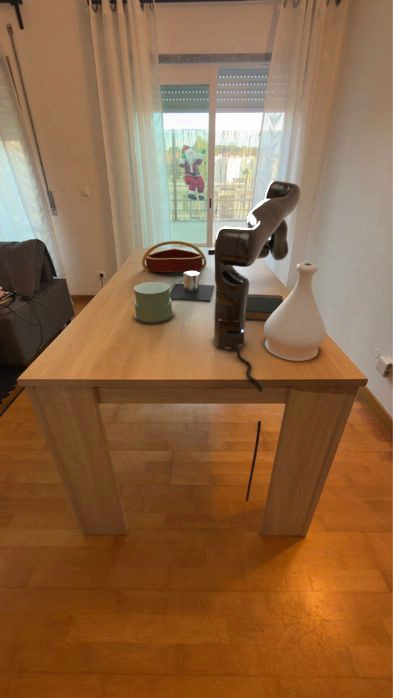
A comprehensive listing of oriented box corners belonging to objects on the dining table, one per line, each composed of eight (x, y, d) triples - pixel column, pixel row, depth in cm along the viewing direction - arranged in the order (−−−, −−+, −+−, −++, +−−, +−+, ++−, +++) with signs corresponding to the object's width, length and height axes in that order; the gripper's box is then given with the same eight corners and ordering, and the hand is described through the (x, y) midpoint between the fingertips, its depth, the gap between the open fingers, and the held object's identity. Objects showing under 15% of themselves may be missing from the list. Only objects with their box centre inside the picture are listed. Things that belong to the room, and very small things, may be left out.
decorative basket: (206, 266, 165) (206, 239, 159) (206, 274, 138) (206, 242, 132) (148, 267, 166) (146, 240, 159) (138, 275, 139) (134, 243, 133)
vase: (255, 333, 93) (265, 256, 80) (307, 331, 94) (325, 254, 81) (271, 364, 78) (286, 275, 65) (331, 361, 79) (359, 273, 66)
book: (215, 318, 103) (285, 322, 100) (215, 309, 101) (287, 313, 98) (218, 299, 117) (280, 303, 114) (218, 291, 115) (281, 294, 112)
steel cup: (192, 295, 120) (192, 276, 116) (180, 291, 123) (180, 273, 119) (202, 290, 124) (202, 272, 120) (190, 287, 128) (190, 269, 123)
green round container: (168, 325, 98) (166, 295, 92) (129, 323, 99) (125, 293, 93) (176, 309, 109) (175, 281, 103) (141, 307, 111) (138, 279, 105)
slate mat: (209, 301, 115) (209, 300, 115) (166, 299, 118) (166, 298, 117) (213, 286, 131) (213, 285, 130) (175, 284, 133) (175, 283, 132)
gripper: (238, 239, 127) (205, 242, 122) (256, 245, 116) (220, 249, 110) (237, 256, 131) (205, 259, 126) (254, 264, 120) (219, 268, 114)
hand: (212, 254), depth 118 cm, fingers open, 8 cm apart
